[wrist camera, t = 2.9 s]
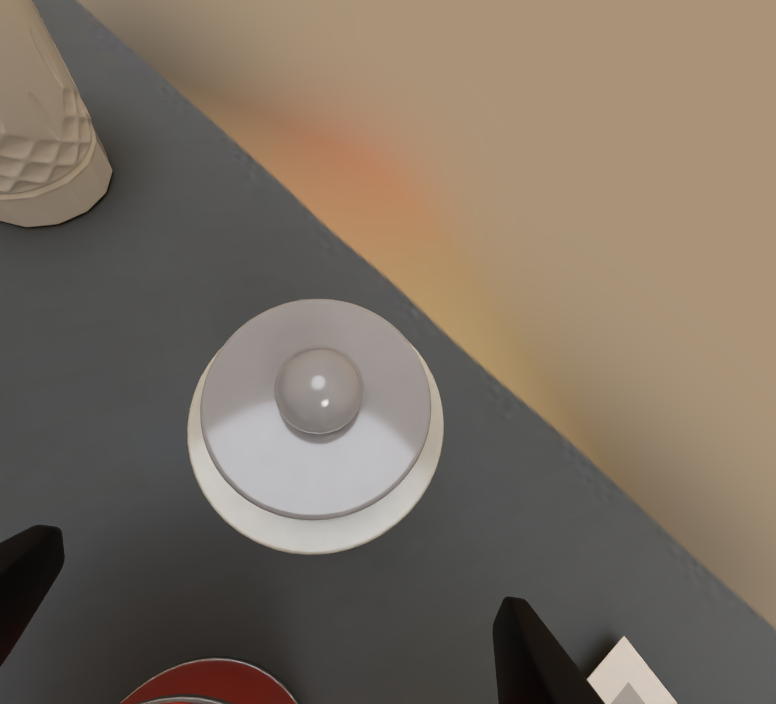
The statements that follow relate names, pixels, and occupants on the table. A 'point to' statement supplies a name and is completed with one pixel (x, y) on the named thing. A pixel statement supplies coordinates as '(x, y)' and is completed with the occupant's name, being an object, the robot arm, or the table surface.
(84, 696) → the table surface
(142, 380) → the table surface
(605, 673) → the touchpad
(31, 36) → the white cup
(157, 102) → the table surface
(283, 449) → the pepper mill
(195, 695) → the sauce tin
